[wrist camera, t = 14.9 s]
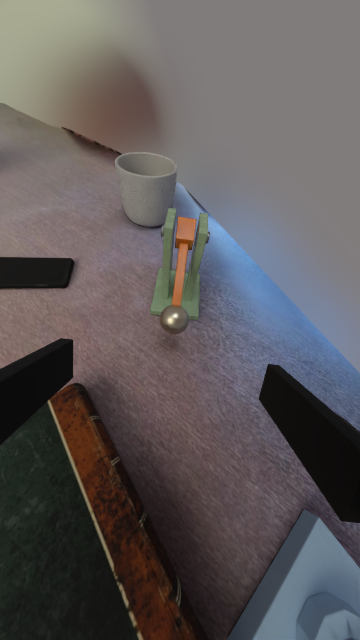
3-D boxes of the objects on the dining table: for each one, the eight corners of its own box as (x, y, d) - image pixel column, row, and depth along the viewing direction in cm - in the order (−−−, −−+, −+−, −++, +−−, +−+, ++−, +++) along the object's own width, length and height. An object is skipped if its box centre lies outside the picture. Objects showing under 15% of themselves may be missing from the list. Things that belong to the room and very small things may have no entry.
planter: (183, 222, 46) (189, 169, 37) (143, 238, 41) (139, 181, 31) (153, 200, 50) (152, 148, 41) (113, 212, 45) (102, 156, 35)
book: (-102, 504, 16) (-84, 1177, 7) (-161, 520, 13) (-260, 1721, 4) (87, 386, 23) (219, 653, 14) (76, 379, 20) (236, 714, 11)
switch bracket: (197, 320, 30) (221, 251, 19) (150, 314, 30) (145, 240, 18) (198, 278, 36) (218, 204, 24) (159, 272, 35) (159, 195, 24)
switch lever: (185, 335, 23) (188, 335, 20) (158, 332, 23) (156, 331, 20) (198, 233, 25) (203, 216, 21) (172, 230, 25) (172, 212, 21)
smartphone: (65, 285, 30) (-39, 286, 28) (67, 288, 31) (-34, 289, 29) (73, 257, 34) (-18, 256, 32) (75, 261, 34) (-14, 260, 32)
